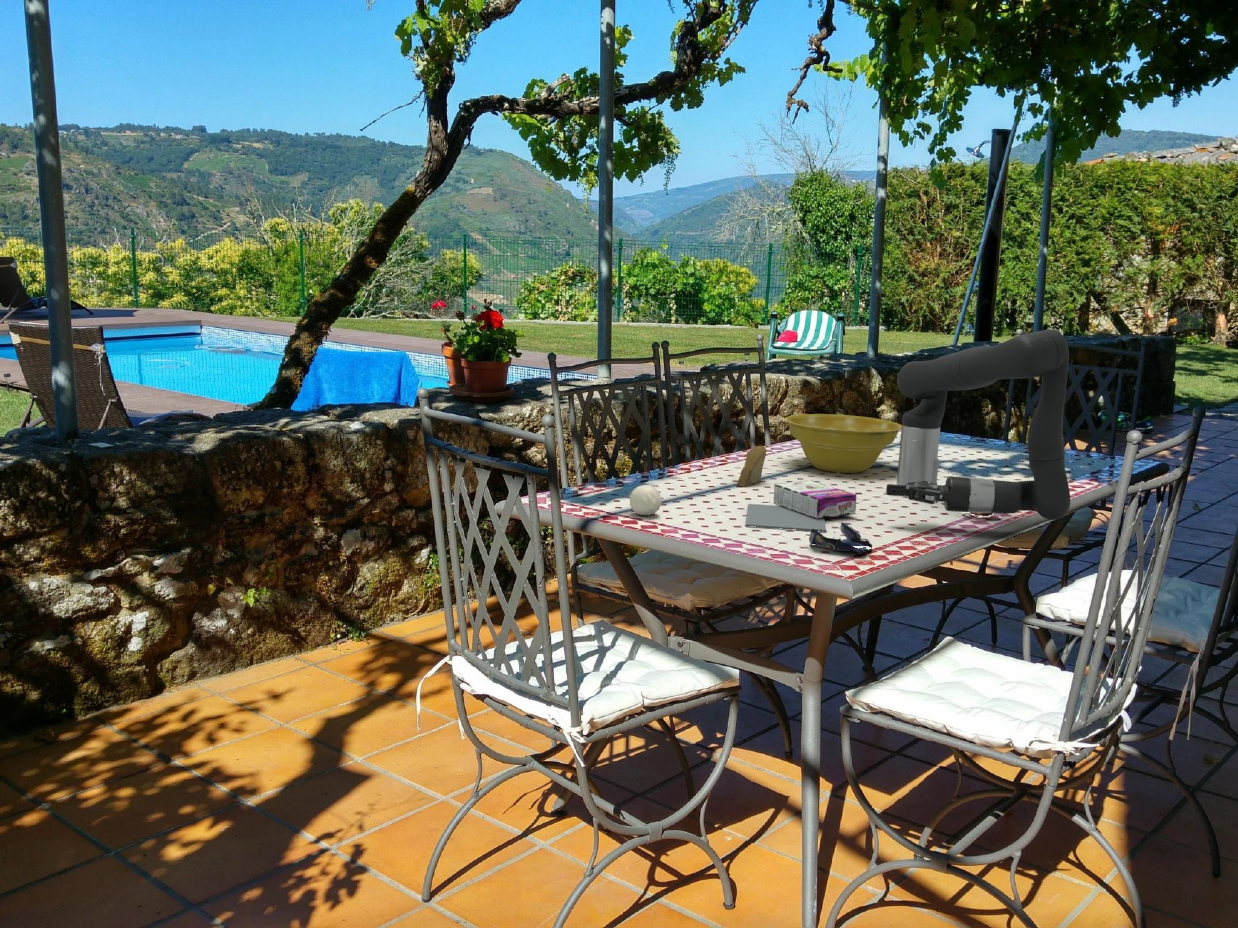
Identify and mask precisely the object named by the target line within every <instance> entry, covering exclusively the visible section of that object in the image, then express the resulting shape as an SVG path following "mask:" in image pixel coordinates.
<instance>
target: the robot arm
mask: <svg viewBox="0 0 1238 928" xmlns="http://www.w3.org/2000/svg"><path fill="white" fill-rule="evenodd" d="M1069 360H1070V351H1069V345H1068V342H1067V339H1066V338H1065V336H1064V335H1063V333H1061V332H1060V331H1059V330H1056V329H1052V328H1050V329H1043V330H1037V331H1033V332H1028V333H1021V334H1020V335H1019V334H1018V335H1017V336H1015V337H1012V338H1010V339H1008V340H1006V341H1003V342H1001V343H998V344H996V345H992V346H987V345H986V346H985V345H980V346H974V347H970V348H966V349H962V350H960V351H956V352H953V353H949V354H945V355H943V356H940V357H937V358H934V359H930V360H923V361H921V360H920V361H919V360H917V361H915V360H914V361H909V362H907V363H906V364H905V365H903V366H902V368H901V369H900V371H899V372H898V374H897V379H896V385H897V388H898V390H899V392H900V393H901V394H902V395H903V396H904V397H906V398H908V399H912V400H921V401H920V403H919V405H917V406H916V407H914V408H913V409H911V410H908V411H906V412H905V413H904V414H903V415H902V421H901V425H902V429H901V430H900V443H899V452H898V454H899V455H898V465H897V476H896V484H893V483H888V484H886V487H885V488H886V489H885V493H886V494H887V496H891V497H892V496H893V497H904V498H906V499H908V500H909V501H916V502H921V503H924V504H929V505H935V504H938V502H943V503H944V504H943V506H944V509H945V510H946V511H948V512H957V513H961V512H971V513H990V512H991V513H997V514H1005V515H1006V514H1008V515H1010V514H1011V515H1012V514H1016V513H1018V511H1021V512H1023V511H1024V512H1025V511H1027V512H1028V511H1029V512H1036V513H1037V514H1038V515H1040V517H1042V518H1043V519H1046V520H1049V521H1057V520H1060V519H1062V518H1063V517H1064V516H1066V515H1067V514H1068V512H1069V510H1070V508H1071V493H1070V485H1069V481H1068V480H1069V479H1068V477H1067V476H1068V475H1067V472H1066V466H1065V464H1066V463H1065V446H1064V445H1065V444H1064V411H1065V403H1066V402H1065V401H1066V396H1067V395H1066V393H1067V386H1068V385H1067V384H1068V383H1067V381H1068V375H1069V374H1068V373H1069V362H1070V361H1069ZM1037 377H1041V393H1040V396H1039V400H1038V403H1037V406H1036V408H1035V411H1034V414H1033V416H1032V419H1031V421H1030V424H1029V426H1028V427H1029V428H1028V432H1027V453H1028V463H1029V468H1030V471H1031V473H1032V475H1033V480H1021V481H1019V480H1018V481H1010V480H999V479H997V480H996V479H995V480H994V479H987V478H981V477H969V476H968V477H967V476H952V475H951V476H948V477H947V478H946V480H945V483H944V485H942V484H938V473H939V464H940V463H939V462H940V459H939V458H938V455H939V454H938V453H939V444H940V434H941V425H942V420H943V418H944V416H945V415H944V414H945V410H946V403H947V397H948V392H949V391H955V392H956V391H968V390H977V389H981V388H985V387H988V386H991V385H993V384H994V383H996V382H997V381H999V380H1011V379H1033V378H1037Z"/></svg>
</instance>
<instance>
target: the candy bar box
mask: <svg viewBox="0 0 1238 928" xmlns="http://www.w3.org/2000/svg"><path fill="white" fill-rule="evenodd" d="M773 486H774V487H773V490H774V492H773V504H775V505H776V506H783V507H785V508H788V509H791V510H794V511H797V512H800V513H802V514H805V515H808V516H811V517H813V518H816V519H819V518H824V519H827V518H834V517H842V516H843V517H844V516H853V515H855V514H856V509H857V494H856V493H852V492H850V491H847V490H843V489H839V488H836V487H833V486H830V485H826V484H823V483H821V482H819V481H818V482H817V481H815V480H804V481H803V480H801V481H792V482H782V483H775V484H774V485H773Z"/></svg>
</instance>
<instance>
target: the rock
mask: <svg viewBox="0 0 1238 928" xmlns="http://www.w3.org/2000/svg"><path fill="white" fill-rule="evenodd" d="M767 450H768V449H767V448H766V447H765V446H764V445H757V446H755V447H753V448H751V449H750V450H749V451H747V452H746V458H745V462H744V466H743V467H742V469H741V472H740V475H739V477H738V480H737V483H736V485H737V486H741V487H747V486H752V485H754V484H757V483H759V482H761V480H762V479H761V478H762V476H763V467H764V464H765V460H766V455H767Z"/></svg>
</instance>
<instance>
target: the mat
mask: <svg viewBox="0 0 1238 928" xmlns="http://www.w3.org/2000/svg"><path fill="white" fill-rule="evenodd" d="M745 518H746V519H745V526H756V527H755V528H757V527H763V528H762V529H771V528H782V529H781V530H785V529H796V530H795V531H799V530H804V531H803V532H811V530H812V529H815V530H817V531H824V532H823V533H827V526H826V522H825V518H819V519H816V518H813V517H811V516H808V515H805V514H802V513H800V512H797V511H794V510H791V509H788V508H785V507H783V506H780V505H776V504H775V505H773V504H761V503H760V504H758V503H757V504H756V503H747V510H746V517H745ZM745 526H744V527H745Z"/></svg>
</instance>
